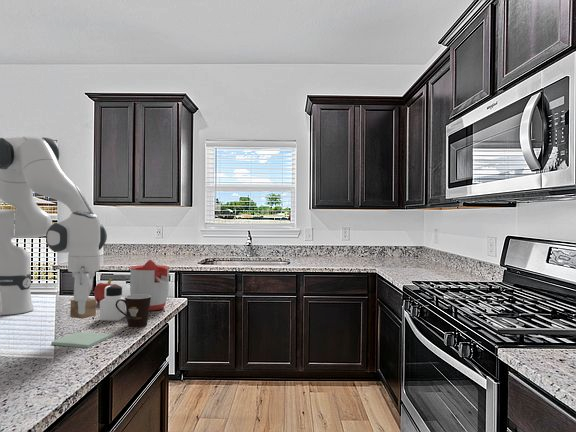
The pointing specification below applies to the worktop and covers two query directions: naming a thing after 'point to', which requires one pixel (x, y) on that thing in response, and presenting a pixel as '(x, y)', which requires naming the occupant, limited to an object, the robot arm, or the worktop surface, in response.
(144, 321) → the coffee mug
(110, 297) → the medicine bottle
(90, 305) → the walnut cube
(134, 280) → the citrus juicer
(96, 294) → the vegetable
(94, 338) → the plate
